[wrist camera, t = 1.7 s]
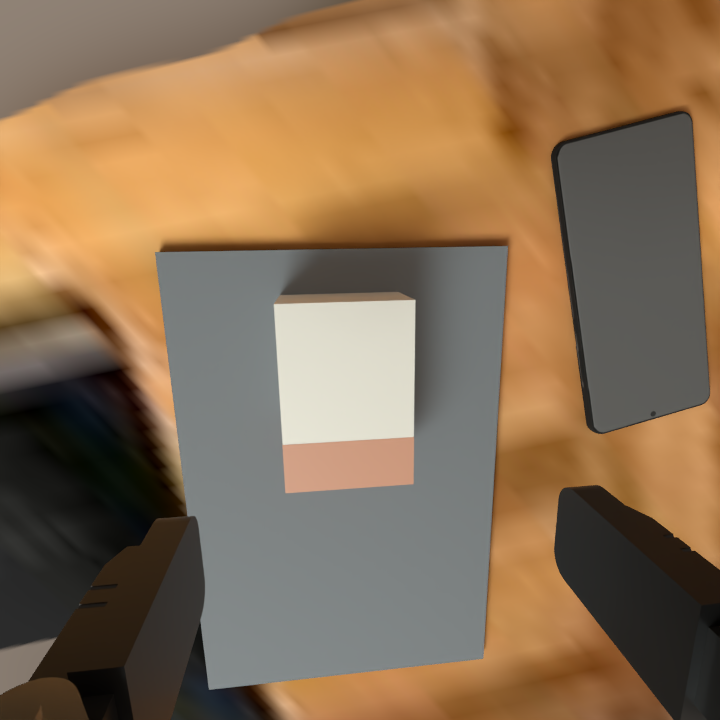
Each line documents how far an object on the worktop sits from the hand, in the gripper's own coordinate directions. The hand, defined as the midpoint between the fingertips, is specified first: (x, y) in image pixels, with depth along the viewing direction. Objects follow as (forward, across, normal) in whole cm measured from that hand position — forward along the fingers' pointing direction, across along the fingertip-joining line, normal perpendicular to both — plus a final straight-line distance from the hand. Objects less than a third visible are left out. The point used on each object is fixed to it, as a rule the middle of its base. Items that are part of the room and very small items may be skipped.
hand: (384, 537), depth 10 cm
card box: (+12, 0, 0) cm, 13 cm away
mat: (+13, 0, +6) cm, 14 cm away
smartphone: (+14, -15, -4) cm, 21 cm away
